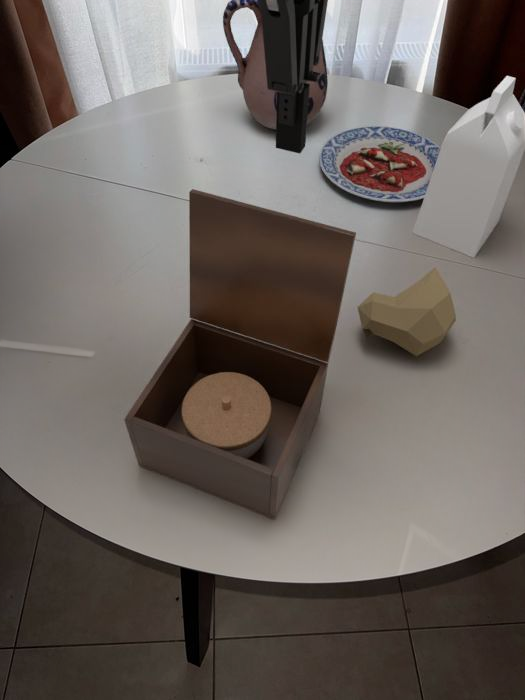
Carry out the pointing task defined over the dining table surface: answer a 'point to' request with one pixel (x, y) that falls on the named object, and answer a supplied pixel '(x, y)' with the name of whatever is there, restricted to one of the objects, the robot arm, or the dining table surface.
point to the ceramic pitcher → (254, 71)
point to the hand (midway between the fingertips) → (290, 146)
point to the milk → (474, 173)
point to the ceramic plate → (380, 163)
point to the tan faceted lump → (411, 314)
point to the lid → (267, 273)
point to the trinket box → (228, 413)
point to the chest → (213, 463)
